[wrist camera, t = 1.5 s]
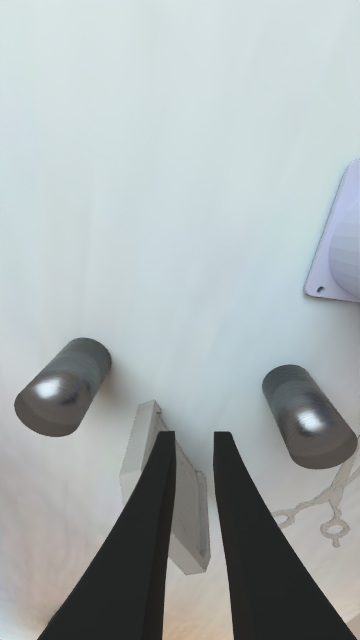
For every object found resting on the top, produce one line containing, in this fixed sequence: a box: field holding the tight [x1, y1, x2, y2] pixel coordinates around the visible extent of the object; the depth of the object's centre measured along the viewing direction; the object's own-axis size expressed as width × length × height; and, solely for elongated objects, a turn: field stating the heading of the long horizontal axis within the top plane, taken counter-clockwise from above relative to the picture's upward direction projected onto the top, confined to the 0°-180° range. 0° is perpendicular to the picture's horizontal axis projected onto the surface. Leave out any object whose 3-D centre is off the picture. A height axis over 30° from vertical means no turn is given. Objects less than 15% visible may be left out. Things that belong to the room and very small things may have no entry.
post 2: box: [262, 365, 358, 469], centre depth 17 cm, size 4×4×6 cm
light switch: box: [120, 400, 211, 575], centre depth 20 cm, size 2×12×8 cm, turn 26°
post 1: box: [14, 338, 111, 437], centre depth 17 cm, size 4×4×6 cm
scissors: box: [271, 436, 360, 547], centre depth 25 cm, size 11×1×20 cm
